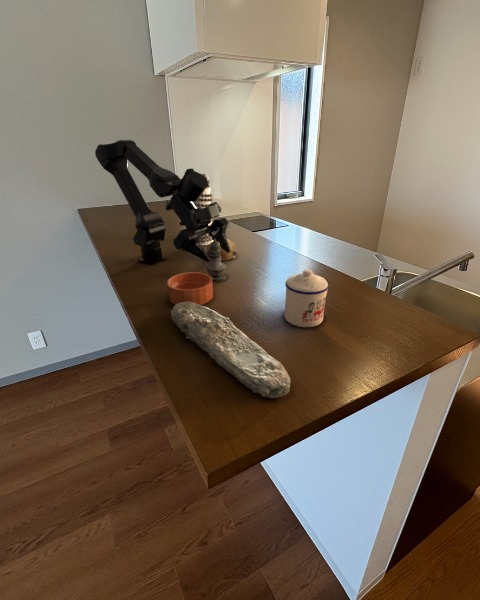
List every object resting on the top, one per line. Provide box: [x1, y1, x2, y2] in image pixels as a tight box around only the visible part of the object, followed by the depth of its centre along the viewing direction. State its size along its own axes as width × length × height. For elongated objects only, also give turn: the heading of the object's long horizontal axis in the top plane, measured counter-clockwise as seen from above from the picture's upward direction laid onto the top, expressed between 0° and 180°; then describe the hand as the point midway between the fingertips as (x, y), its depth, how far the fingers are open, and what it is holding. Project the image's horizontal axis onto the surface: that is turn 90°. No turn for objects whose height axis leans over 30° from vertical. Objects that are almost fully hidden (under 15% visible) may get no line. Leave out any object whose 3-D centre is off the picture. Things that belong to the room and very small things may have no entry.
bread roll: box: [205, 238, 237, 261], centre depth 109 cm, size 10×10×8 cm
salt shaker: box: [205, 238, 227, 282], centre depth 91 cm, size 6×6×12 cm
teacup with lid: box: [284, 268, 329, 328], centre depth 71 cm, size 12×9×12 cm
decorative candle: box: [192, 173, 214, 246], centre depth 120 cm, size 9×9×25 cm
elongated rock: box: [170, 302, 291, 399], centre depth 62 cm, size 35×5×10 cm
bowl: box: [166, 271, 214, 306], centre depth 81 cm, size 11×11×5 cm
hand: (219, 256), depth 90 cm, fingers open, 9 cm apart
